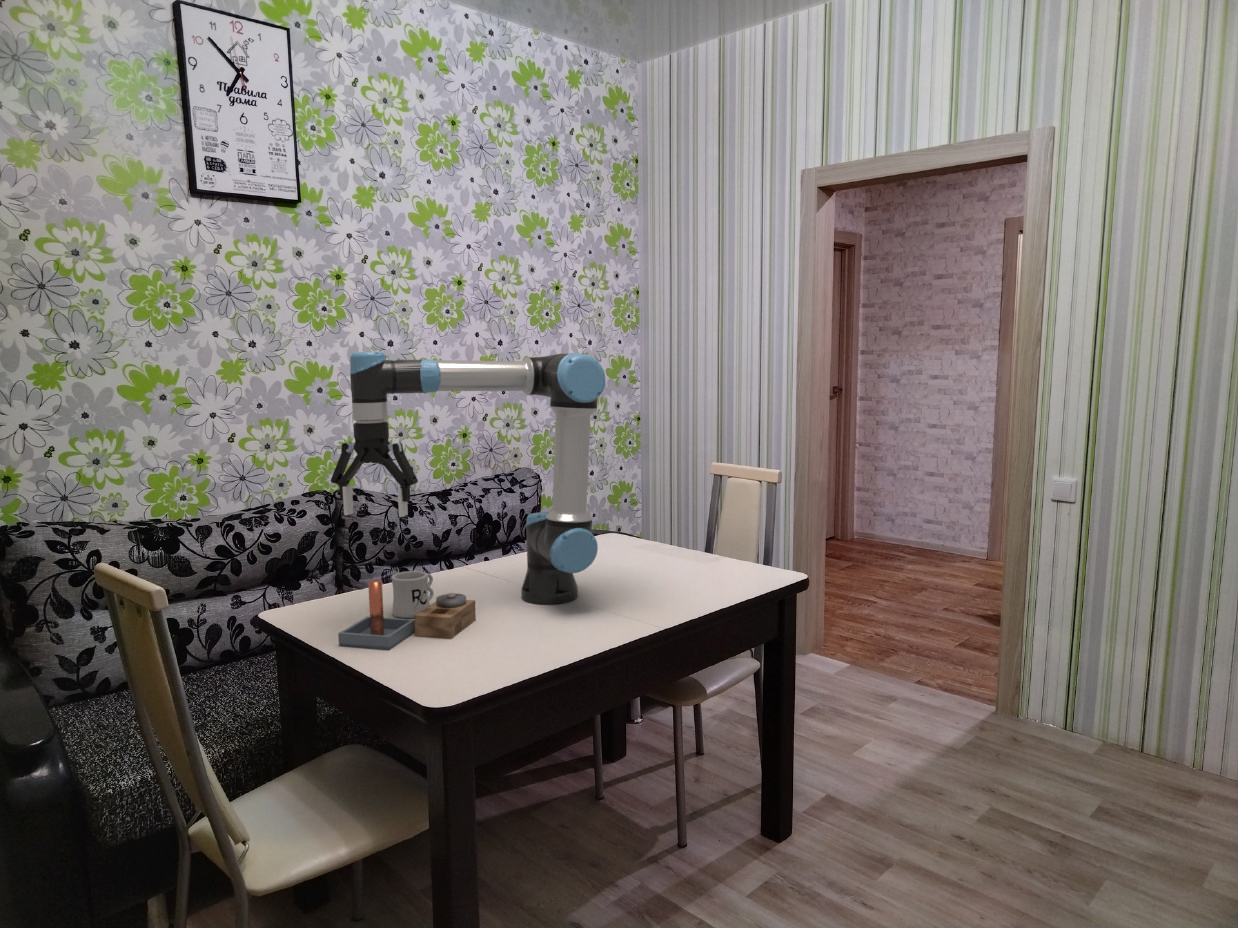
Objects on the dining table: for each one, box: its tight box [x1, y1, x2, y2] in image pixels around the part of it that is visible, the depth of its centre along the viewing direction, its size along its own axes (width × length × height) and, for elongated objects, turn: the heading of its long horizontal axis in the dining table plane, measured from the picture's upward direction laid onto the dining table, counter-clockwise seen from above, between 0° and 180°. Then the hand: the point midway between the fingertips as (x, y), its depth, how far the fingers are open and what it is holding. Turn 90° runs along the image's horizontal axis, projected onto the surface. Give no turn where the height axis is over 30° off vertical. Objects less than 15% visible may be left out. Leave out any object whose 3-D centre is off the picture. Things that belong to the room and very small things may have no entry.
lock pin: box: [367, 579, 385, 635], centre depth 189 cm, size 3×3×13 cm
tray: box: [337, 615, 415, 651], centre depth 190 cm, size 12×12×3 cm
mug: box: [390, 570, 435, 619], centre depth 209 cm, size 12×9×10 cm
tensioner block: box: [414, 592, 477, 640], centre depth 197 cm, size 9×14×7 cm, turn 167°
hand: (375, 515), depth 187 cm, fingers open, 13 cm apart
